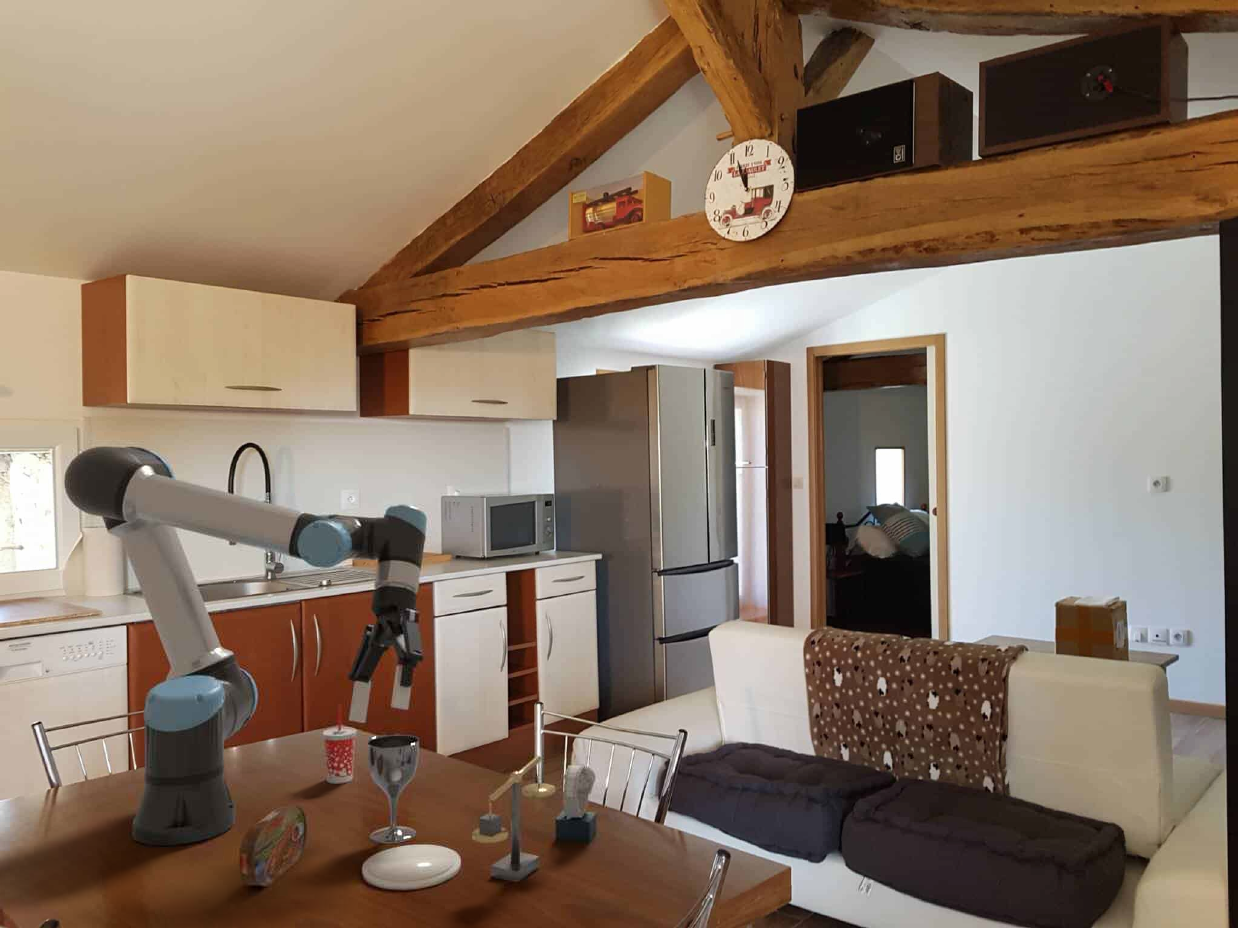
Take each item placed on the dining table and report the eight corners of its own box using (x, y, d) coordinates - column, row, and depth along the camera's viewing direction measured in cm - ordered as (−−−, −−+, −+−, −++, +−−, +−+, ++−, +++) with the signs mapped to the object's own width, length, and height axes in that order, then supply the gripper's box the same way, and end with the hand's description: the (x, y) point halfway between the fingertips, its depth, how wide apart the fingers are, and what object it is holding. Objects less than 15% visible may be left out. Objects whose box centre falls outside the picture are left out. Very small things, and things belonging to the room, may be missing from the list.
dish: (341, 877, 137) (341, 869, 137) (405, 843, 150) (405, 836, 150) (419, 897, 131) (419, 889, 131) (479, 859, 144) (479, 852, 144)
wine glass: (406, 846, 149) (406, 748, 149) (358, 842, 150) (358, 746, 150) (426, 827, 157) (426, 734, 157) (381, 823, 158) (381, 732, 158)
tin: (255, 896, 131) (255, 834, 132) (234, 895, 132) (234, 833, 132) (308, 853, 146) (308, 797, 146) (289, 851, 147) (289, 796, 147)
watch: (599, 827, 157) (599, 759, 157) (586, 846, 149) (586, 774, 149) (566, 824, 158) (565, 757, 158) (551, 843, 150) (551, 772, 150)
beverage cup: (351, 784, 178) (351, 708, 178) (318, 784, 178) (318, 708, 178) (360, 774, 184) (360, 700, 184) (328, 774, 184) (328, 700, 184)
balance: (495, 899, 130) (495, 787, 130) (465, 892, 133) (464, 782, 133) (561, 852, 146) (561, 752, 146) (533, 846, 149) (533, 748, 149)
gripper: (454, 579, 161) (439, 706, 151) (378, 613, 178) (360, 729, 168) (415, 567, 157) (397, 697, 147) (341, 603, 173) (320, 722, 163)
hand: (377, 715), depth 157 cm, fingers open, 13 cm apart
